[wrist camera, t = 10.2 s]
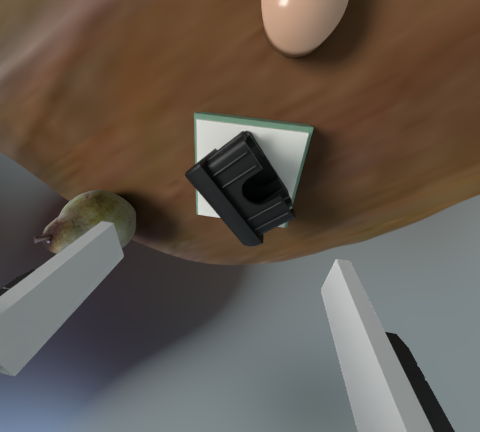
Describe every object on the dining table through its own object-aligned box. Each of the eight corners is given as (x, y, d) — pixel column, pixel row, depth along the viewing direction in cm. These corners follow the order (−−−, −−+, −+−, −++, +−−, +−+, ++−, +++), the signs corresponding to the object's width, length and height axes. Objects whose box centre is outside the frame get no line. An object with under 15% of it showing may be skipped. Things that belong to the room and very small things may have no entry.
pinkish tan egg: (269, -48, 17) (269, -79, 14) (350, -43, 17) (368, -74, 14) (257, 54, 21) (256, 47, 18) (324, 61, 20) (333, 54, 17)
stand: (202, 111, 24) (191, 113, 21) (308, 124, 23) (315, 128, 20) (203, 203, 31) (194, 216, 27) (284, 216, 30) (286, 231, 27)
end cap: (197, 161, 23) (174, 182, 18) (245, 124, 20) (236, 133, 15) (245, 222, 27) (238, 255, 21) (292, 196, 24) (299, 227, 18)
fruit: (97, 170, 30) (10, 206, 20) (154, 199, 32) (99, 247, 21) (92, 217, 36) (20, 265, 25) (141, 240, 37) (91, 295, 27)
